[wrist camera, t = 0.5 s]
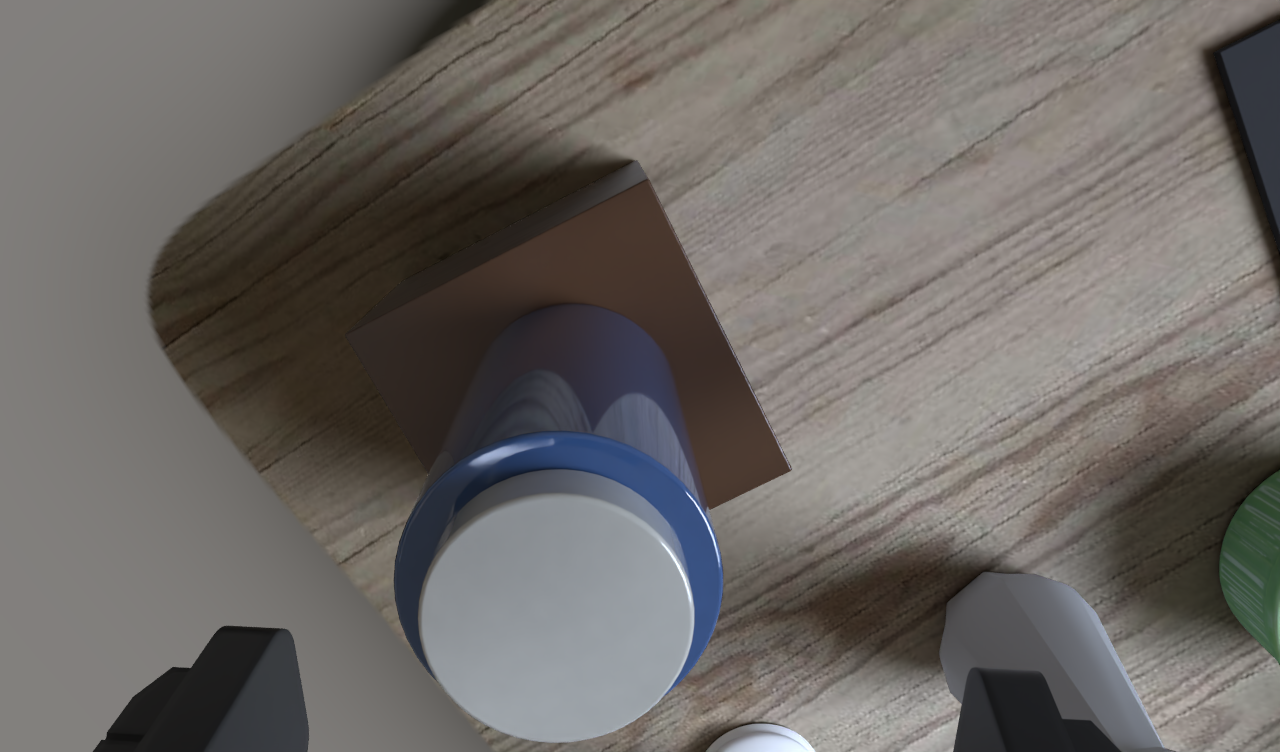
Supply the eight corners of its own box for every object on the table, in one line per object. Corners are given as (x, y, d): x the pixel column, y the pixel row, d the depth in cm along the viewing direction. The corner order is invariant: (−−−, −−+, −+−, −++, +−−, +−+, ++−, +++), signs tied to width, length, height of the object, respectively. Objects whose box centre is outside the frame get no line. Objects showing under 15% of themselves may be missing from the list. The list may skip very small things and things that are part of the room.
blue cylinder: (432, 361, 27) (309, 556, 16) (619, 266, 27) (634, 395, 15) (532, 533, 29) (487, 828, 17) (711, 445, 28) (789, 688, 17)
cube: (400, 281, 35) (343, 335, 27) (637, 159, 34) (648, 178, 26) (527, 501, 37) (508, 607, 29) (751, 390, 36) (792, 470, 29)
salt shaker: (1098, 576, 39) (1338, 806, 26) (1032, 703, 40) (1231, 980, 27) (958, 530, 38) (1137, 744, 25) (897, 660, 39) (1037, 925, 27)
